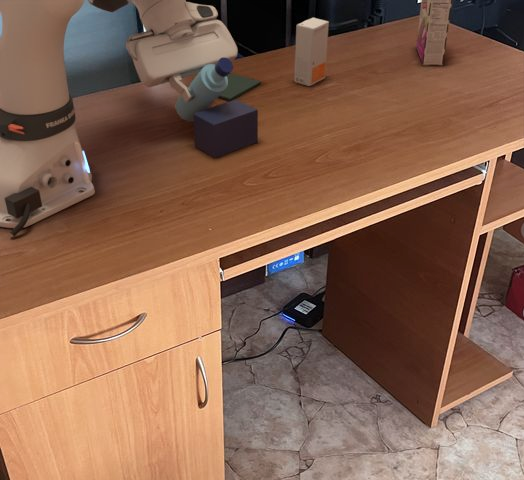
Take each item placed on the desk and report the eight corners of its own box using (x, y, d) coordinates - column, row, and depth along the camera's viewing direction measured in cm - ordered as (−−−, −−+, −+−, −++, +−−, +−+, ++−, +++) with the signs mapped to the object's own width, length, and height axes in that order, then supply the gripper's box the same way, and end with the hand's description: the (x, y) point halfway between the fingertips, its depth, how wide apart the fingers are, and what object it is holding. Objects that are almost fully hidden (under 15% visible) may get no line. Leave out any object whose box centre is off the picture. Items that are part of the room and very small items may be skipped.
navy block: (194, 146, 143) (193, 113, 139) (237, 131, 148) (236, 99, 144) (214, 158, 140) (213, 124, 136) (257, 142, 145) (257, 109, 141)
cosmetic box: (310, 87, 165) (312, 28, 157) (293, 82, 167) (295, 24, 159) (326, 78, 168) (329, 20, 161) (309, 73, 170) (312, 16, 163)
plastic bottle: (171, 118, 149) (167, 40, 140) (193, 111, 152) (190, 34, 143) (218, 144, 141) (217, 64, 132) (241, 136, 144) (241, 57, 134)
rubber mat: (230, 101, 159) (230, 98, 159) (187, 88, 164) (187, 86, 163) (260, 84, 166) (261, 81, 166) (219, 72, 171) (219, 69, 170)
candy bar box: (414, 48, 183) (423, -28, 172) (435, 48, 183) (446, -28, 172) (420, 66, 174) (431, -13, 164) (443, 66, 174) (455, -12, 164)
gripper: (127, 27, 134) (164, 101, 134) (221, 5, 144) (255, 73, 145) (116, 47, 139) (151, 117, 140) (207, 24, 150) (240, 89, 150)
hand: (205, 95), depth 142 cm, fingers closed on plastic bottle, 5 cm apart
